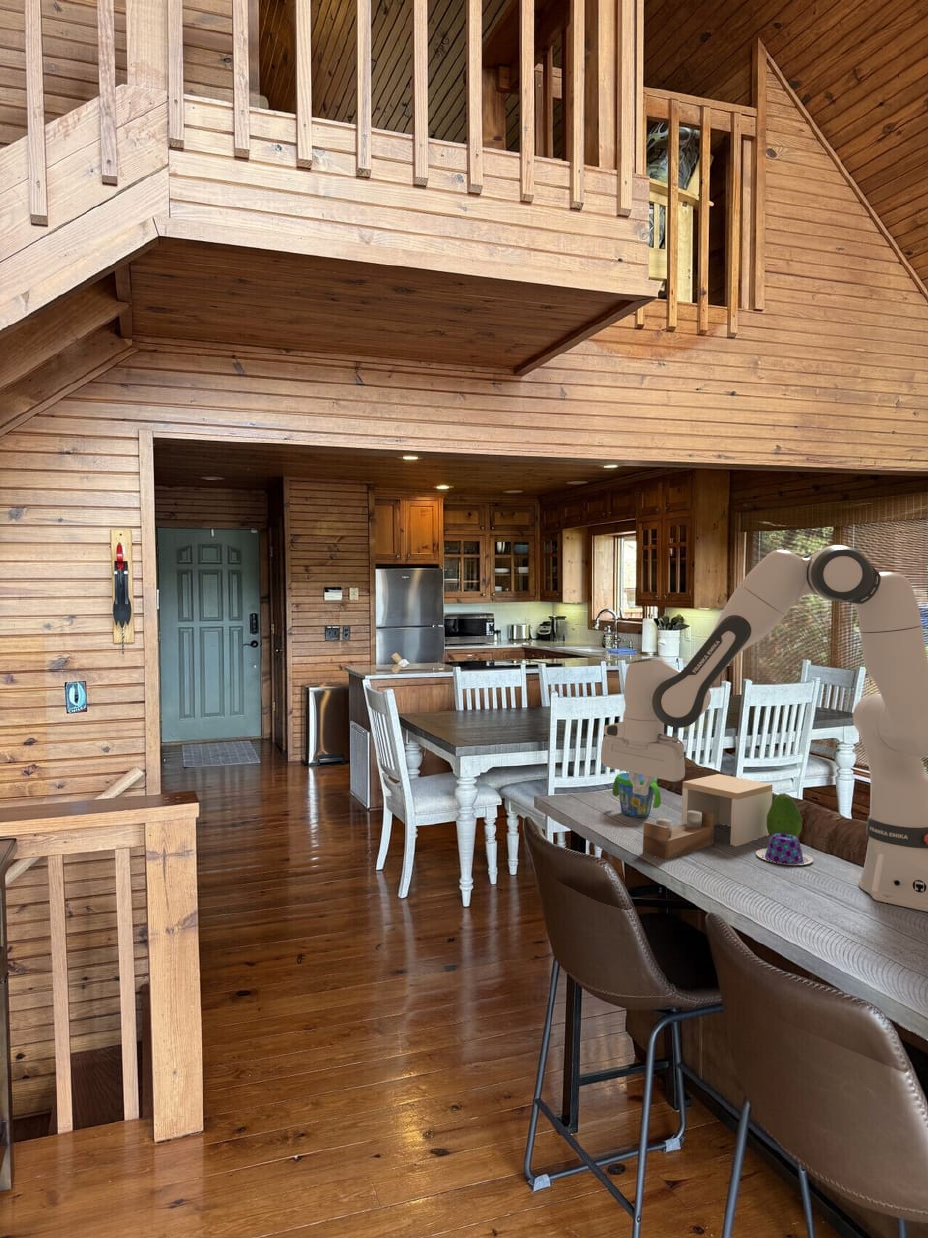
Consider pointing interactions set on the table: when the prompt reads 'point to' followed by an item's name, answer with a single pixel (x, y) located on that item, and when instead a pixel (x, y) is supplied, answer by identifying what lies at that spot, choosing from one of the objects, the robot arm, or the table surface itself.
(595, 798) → the table surface
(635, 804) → the snack cup
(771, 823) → the avocado
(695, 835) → the tray
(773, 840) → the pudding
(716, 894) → the table surface
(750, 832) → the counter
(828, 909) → the table surface
